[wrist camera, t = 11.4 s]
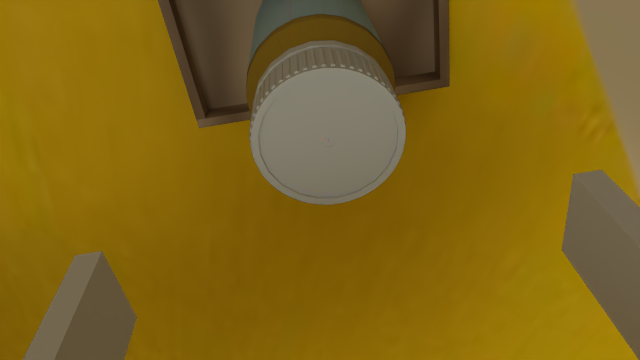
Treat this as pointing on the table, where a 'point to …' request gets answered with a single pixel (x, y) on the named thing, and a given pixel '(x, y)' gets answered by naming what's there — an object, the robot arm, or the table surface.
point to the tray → (237, 34)
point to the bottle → (322, 101)
